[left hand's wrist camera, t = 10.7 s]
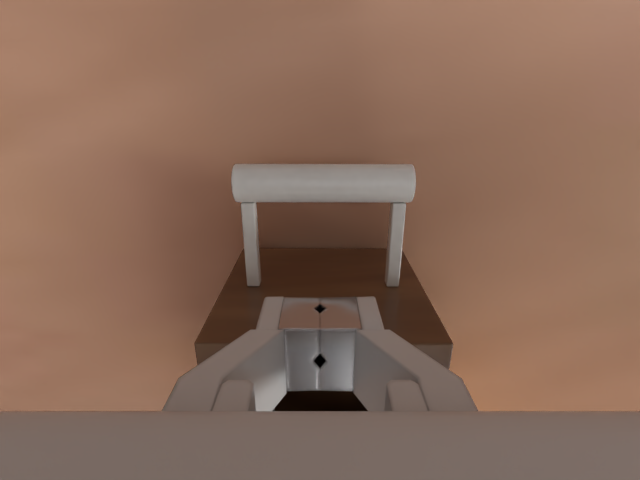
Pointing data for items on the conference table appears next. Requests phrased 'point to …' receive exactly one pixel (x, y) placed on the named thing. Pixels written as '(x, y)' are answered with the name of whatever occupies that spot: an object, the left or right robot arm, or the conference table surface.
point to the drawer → (324, 265)
